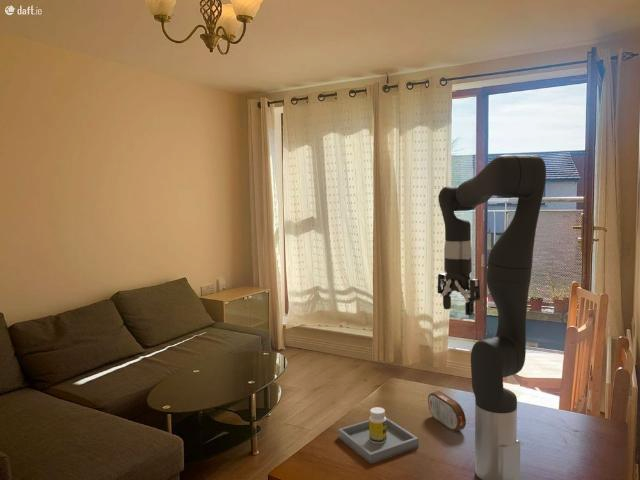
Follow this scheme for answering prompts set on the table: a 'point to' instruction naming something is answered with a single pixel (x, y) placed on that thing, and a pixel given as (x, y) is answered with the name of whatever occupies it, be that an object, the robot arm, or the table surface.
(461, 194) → the robot arm
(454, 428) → the tin
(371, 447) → the tray
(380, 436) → the supplement bottle
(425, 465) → the table surface
